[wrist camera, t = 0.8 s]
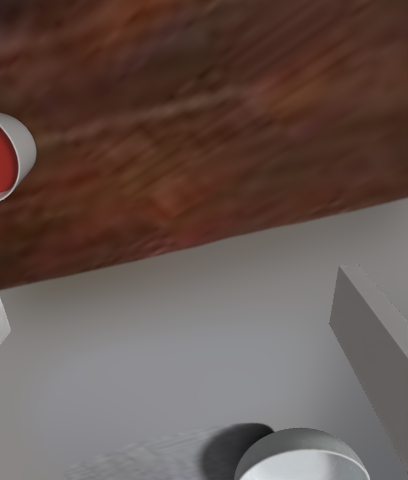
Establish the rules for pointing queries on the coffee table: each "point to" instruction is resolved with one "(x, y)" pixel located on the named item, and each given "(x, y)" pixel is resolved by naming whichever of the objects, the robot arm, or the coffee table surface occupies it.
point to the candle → (14, 153)
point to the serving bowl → (300, 458)
